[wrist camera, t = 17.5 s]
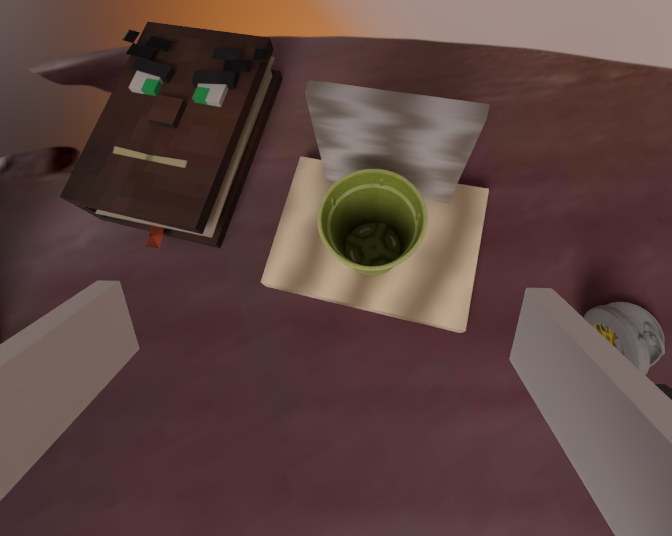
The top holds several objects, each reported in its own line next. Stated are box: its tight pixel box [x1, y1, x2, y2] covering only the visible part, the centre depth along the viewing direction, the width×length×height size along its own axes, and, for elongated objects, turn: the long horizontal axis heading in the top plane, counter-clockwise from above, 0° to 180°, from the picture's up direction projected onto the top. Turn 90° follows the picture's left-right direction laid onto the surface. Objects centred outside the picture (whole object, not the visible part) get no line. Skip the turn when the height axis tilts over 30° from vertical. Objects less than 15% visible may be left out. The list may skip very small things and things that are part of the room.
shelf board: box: [261, 80, 490, 333], centre depth 33 cm, size 22×16×16 cm
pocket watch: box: [584, 302, 665, 375], centre depth 31 cm, size 8×8×10 cm
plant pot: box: [317, 169, 428, 276], centre depth 34 cm, size 9×9×9 cm
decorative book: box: [60, 22, 282, 248], centre depth 44 cm, size 19×8×30 cm
